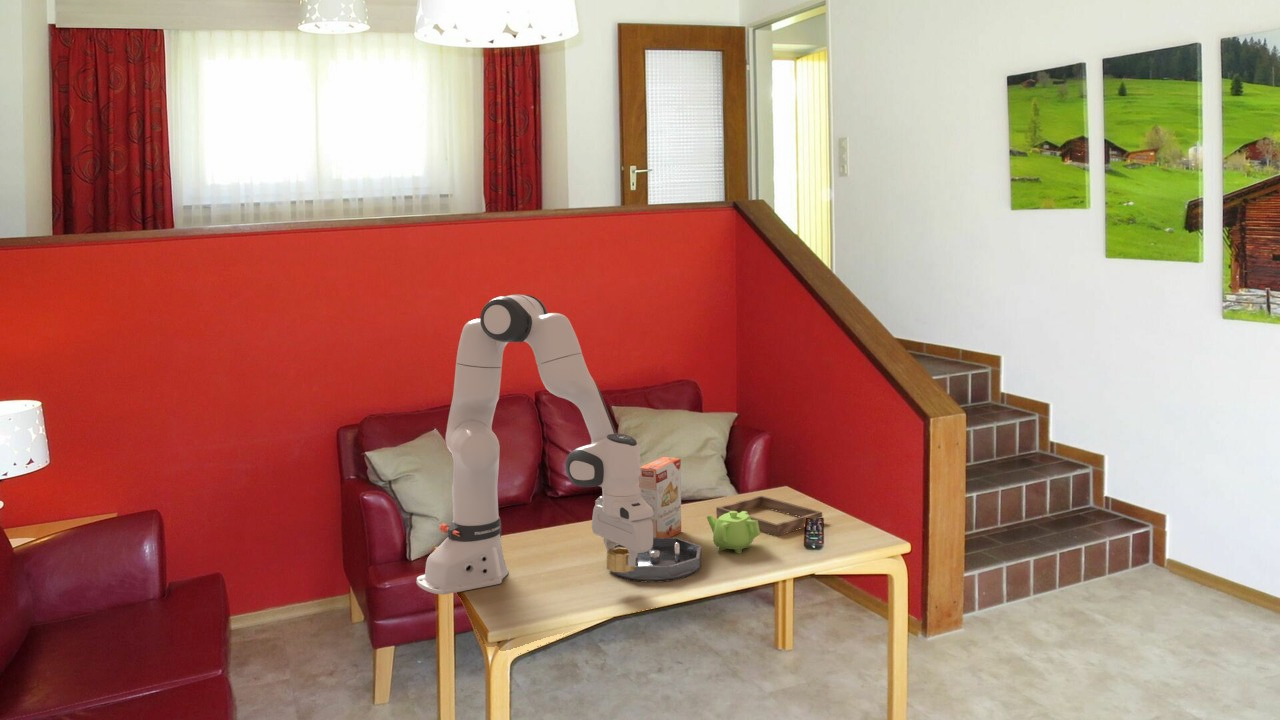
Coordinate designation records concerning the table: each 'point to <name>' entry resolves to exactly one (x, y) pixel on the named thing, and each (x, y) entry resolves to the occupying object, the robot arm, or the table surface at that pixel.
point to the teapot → (734, 530)
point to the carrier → (665, 561)
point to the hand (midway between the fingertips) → (621, 561)
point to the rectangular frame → (775, 505)
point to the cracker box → (663, 495)
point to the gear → (618, 560)
